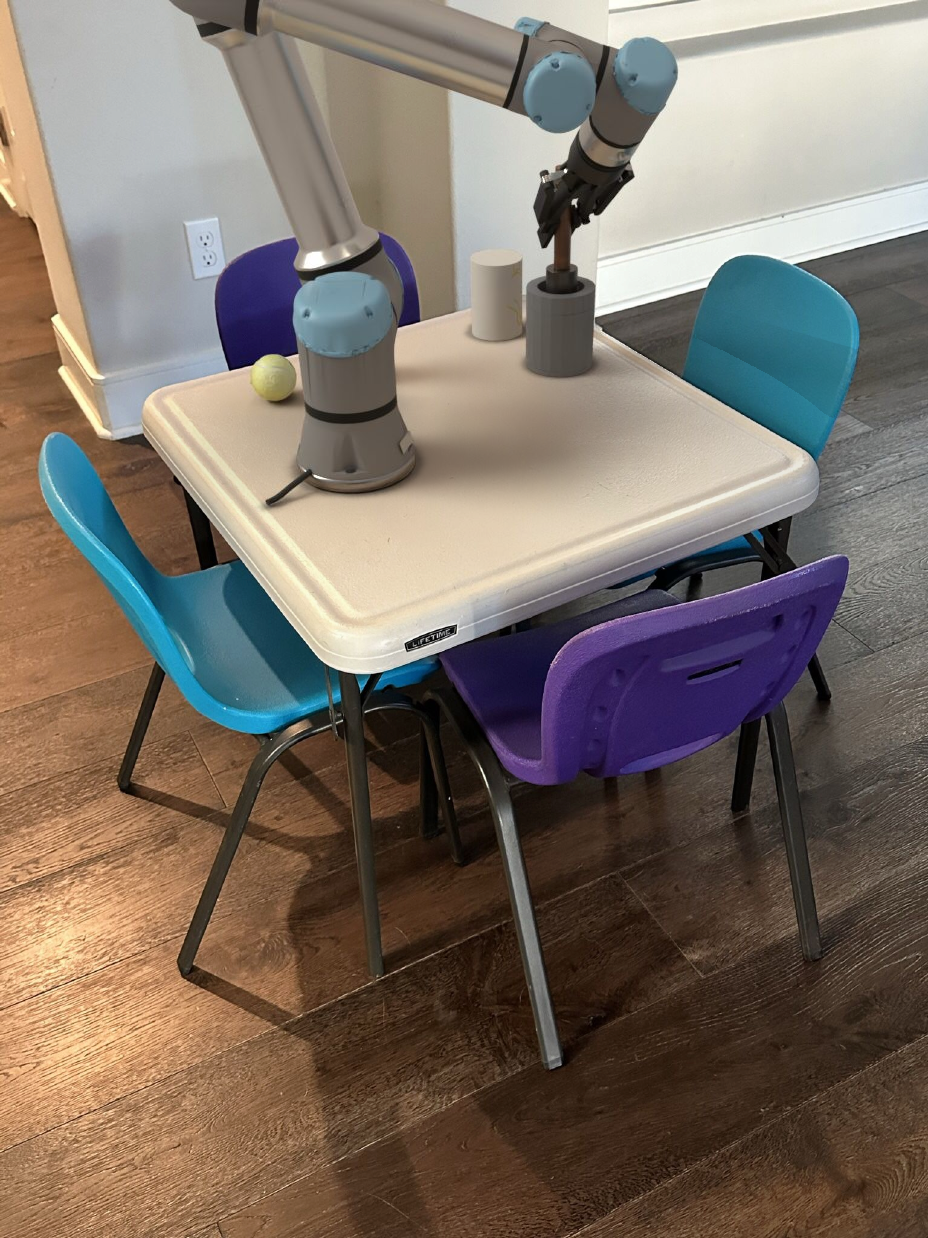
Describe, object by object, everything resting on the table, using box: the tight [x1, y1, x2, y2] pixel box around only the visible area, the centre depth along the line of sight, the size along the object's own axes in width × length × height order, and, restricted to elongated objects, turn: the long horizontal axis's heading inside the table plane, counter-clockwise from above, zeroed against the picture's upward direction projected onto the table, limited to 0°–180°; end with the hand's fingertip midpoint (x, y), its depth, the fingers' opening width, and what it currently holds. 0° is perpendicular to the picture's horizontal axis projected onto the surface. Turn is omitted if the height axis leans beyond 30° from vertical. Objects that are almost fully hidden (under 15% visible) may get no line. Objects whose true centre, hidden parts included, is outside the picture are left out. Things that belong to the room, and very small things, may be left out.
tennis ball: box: [249, 353, 297, 402], centre depth 162 cm, size 6×7×7 cm
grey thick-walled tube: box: [525, 275, 597, 378], centre depth 168 cm, size 10×10×12 cm
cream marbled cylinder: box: [469, 248, 523, 342], centre depth 179 cm, size 8×8×12 cm
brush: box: [545, 164, 579, 295], centre depth 160 cm, size 5×5×20 cm
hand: (551, 238), depth 164 cm, fingers closed on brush, 2 cm apart
